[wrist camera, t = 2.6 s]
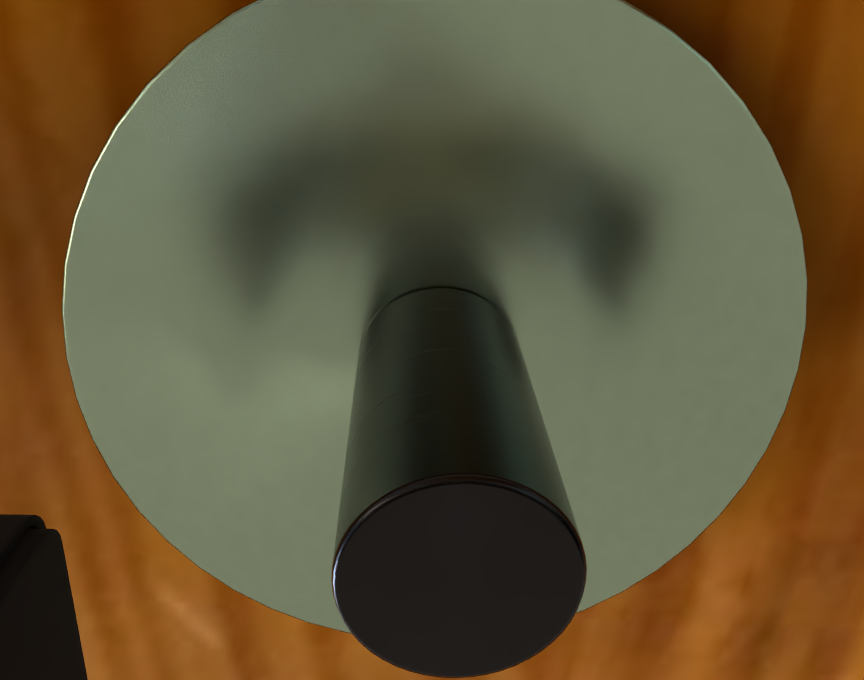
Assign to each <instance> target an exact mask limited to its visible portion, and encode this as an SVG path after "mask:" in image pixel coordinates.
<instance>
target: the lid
mask: <svg viewBox="0 0 864 680" xmlns="http://www.w3.org/2000/svg"><path fill="white" fill-rule="evenodd" d="M806 311H807V272H806V263H805V254H804V245H803V237H802V231H801V227H800V223H799V220H798V216H797V212H796V209H795V205H794V201H793V197H792V194H791V190H790V187H789V184H788V182H787V180H786V178H785V175H784V173H783V171H782V168H781V166H780V164H779V162H778V159H777V157H776V155H775V152H774V150H773V148H772V146H771V143H770V142H769V140H768V138H767V137H766V135H765V134H764V132H763V131H762V129H761V127H760V126H759V124H758V123H757V121H756V119H755V118H754V116H753V115H752V113H751V112H750V110H749V108H748V107H747V105H746V104H745V102H744V101H743V99H742V98H741V97H740V96H739V95H738V94H737V92H736V91H735V90H734V89H733V88H732V87H731V86H730V84H729V83H728V82H727V81H726V80H725V79H724V78H723V76H722V75H721V74H720V73H719V72H718V71H717V69H716V68H715V67H714V66H713V65H712V64H711V63H710V61H708V60H707V59H706V58H705V57H704V56H702V55H701V54H700V53H699V52H698V51H697V50H695V49H694V48H693V47H692V46H691V45H690V44H688V43H687V42H686V41H685V40H684V39H682V38H681V37H680V36H679V35H678V34H677V33H675V32H674V31H673V30H672V29H671V28H669V27H668V26H666V25H665V24H663V23H662V22H660V21H658V20H657V19H655V18H654V17H652V16H650V15H649V14H647V13H645V12H644V11H642V10H641V9H639V8H637V7H636V6H634V5H632V4H631V3H629V2H628V1H626V0H255V1H253V2H251V3H249V4H247V5H245V6H243V7H241V8H240V9H238V10H236V11H234V12H232V13H231V14H229V15H228V16H226V17H225V18H224V19H222V20H221V21H219V22H218V23H217V24H215V25H214V26H212V27H211V28H210V29H208V30H207V31H205V32H204V33H202V34H201V35H200V36H198V37H197V38H195V39H194V40H193V41H191V42H190V43H188V44H187V45H186V46H185V47H184V48H183V49H182V50H181V51H180V52H179V53H178V54H177V55H176V56H175V57H174V58H173V59H172V60H170V61H169V62H168V63H167V64H166V65H165V66H164V67H163V68H162V69H161V70H160V71H159V72H158V73H157V74H156V75H155V76H154V77H153V78H152V79H151V80H150V81H149V82H148V83H147V84H146V85H145V87H144V88H143V89H142V91H141V92H140V93H139V94H138V96H137V97H136V98H135V100H134V101H133V102H132V104H131V105H130V106H129V108H128V109H127V110H126V111H125V113H124V114H123V115H122V117H121V118H120V119H119V121H118V122H117V123H116V125H115V126H114V128H113V130H112V132H111V134H110V135H109V137H108V139H107V141H106V143H105V145H104V146H103V148H102V150H101V152H100V154H99V155H98V157H97V159H96V161H95V163H94V165H93V166H92V168H91V170H90V173H89V176H88V179H87V181H86V184H85V187H84V189H83V192H82V195H81V198H80V200H79V203H78V206H77V208H76V211H75V214H74V217H73V222H72V227H71V232H70V237H69V242H68V247H67V252H66V256H65V261H64V276H63V295H62V318H63V328H64V339H65V349H66V358H67V362H68V366H69V370H70V374H71V378H72V382H73V387H74V391H75V395H76V399H77V402H78V404H79V407H80V409H81V412H82V414H83V417H84V419H85V422H86V424H87V427H88V430H89V432H90V435H91V437H92V440H93V441H94V443H95V445H96V447H97V449H98V450H99V452H100V454H101V456H102V458H103V459H104V461H105V463H106V465H107V467H108V468H109V470H110V472H111V474H112V476H113V477H114V479H115V480H116V481H117V483H118V484H119V485H120V487H121V488H122V489H123V491H124V492H125V493H126V495H127V496H128V497H129V499H130V500H131V502H132V503H133V504H134V506H135V507H136V508H137V510H138V511H139V512H140V513H141V514H142V515H143V516H144V517H145V518H146V519H147V520H148V521H149V523H150V524H151V525H152V526H153V527H154V528H155V529H156V530H157V531H158V532H159V533H160V534H161V535H162V536H163V537H164V538H165V539H166V540H167V541H168V542H169V543H170V544H171V545H172V546H174V547H175V548H176V549H177V550H179V551H180V552H181V553H182V554H183V555H185V556H186V557H187V558H188V559H189V560H191V561H192V562H193V563H194V564H195V565H197V566H198V567H199V568H201V569H202V570H204V571H205V572H207V573H208V574H210V575H211V576H213V577H214V578H216V579H218V580H219V581H221V582H222V583H224V584H225V585H227V586H228V587H230V588H231V589H233V590H235V591H237V592H239V593H241V594H243V595H245V596H247V597H249V598H251V599H253V600H255V601H257V602H259V603H261V604H263V605H265V606H267V607H269V608H271V609H273V610H276V611H279V612H281V613H284V614H287V615H289V616H292V617H295V618H297V619H300V620H303V621H305V622H308V623H312V624H316V625H319V626H323V627H327V628H331V629H335V630H339V631H342V632H346V633H352V634H353V635H354V636H355V638H356V639H357V640H358V641H359V642H360V643H361V644H362V645H363V646H364V647H366V648H367V649H368V650H369V651H370V652H372V653H373V654H375V655H376V656H378V657H379V658H381V659H382V660H384V661H386V662H388V663H390V664H392V665H394V666H396V667H399V668H402V669H405V670H407V671H410V672H414V673H418V674H422V675H427V676H434V677H445V678H464V677H475V676H481V675H487V674H491V673H495V672H499V671H502V670H505V669H508V668H511V667H513V666H516V665H518V664H520V663H522V662H524V661H526V660H528V659H530V658H531V657H533V656H535V655H536V654H538V653H540V652H541V651H542V650H544V649H545V648H546V647H547V646H549V645H550V644H551V643H552V642H553V641H554V640H555V639H556V638H557V637H558V636H559V635H560V634H561V633H562V632H563V631H564V630H565V628H566V627H567V626H568V624H569V623H570V622H571V620H572V618H573V617H574V615H575V613H577V612H580V611H583V610H586V609H588V608H590V607H592V606H594V605H596V604H598V603H600V602H602V601H604V600H606V599H608V598H610V597H613V596H615V595H617V594H619V593H621V592H623V591H624V590H626V589H628V588H629V587H631V586H632V585H634V584H636V583H637V582H639V581H640V580H642V579H644V578H645V577H647V576H649V575H650V574H652V573H653V572H655V571H657V570H658V569H659V568H661V567H662V566H663V565H664V564H666V563H667V562H668V561H670V560H671V559H672V558H673V557H675V556H676V555H677V554H678V553H680V552H681V551H682V550H684V549H685V548H686V547H687V546H689V545H690V544H691V543H692V542H693V541H694V540H695V539H696V538H697V537H698V536H699V535H700V534H701V533H702V532H703V531H704V530H705V529H706V528H707V527H708V526H709V525H710V524H711V523H712V522H713V521H714V520H715V519H716V518H717V517H719V515H720V514H721V513H722V512H723V510H724V509H725V508H726V507H727V506H728V504H729V503H730V502H731V501H732V499H733V498H734V497H735V496H736V494H737V493H738V492H739V491H740V489H741V488H742V487H743V486H744V485H745V483H746V482H747V480H748V478H749V477H750V475H751V474H752V472H753V471H754V469H755V467H756V466H757V464H758V463H759V461H760V459H761V458H762V456H763V455H764V453H765V451H766V450H767V448H768V446H769V444H770V442H771V440H772V438H773V435H774V433H775V431H776V429H777V427H778V425H779V423H780V420H781V418H782V416H783V414H784V412H785V410H786V407H787V403H788V400H789V397H790V394H791V391H792V388H793V384H794V381H795V378H796V375H797V372H798V369H799V363H800V357H801V352H802V346H803V340H804V334H805V328H806Z"/></svg>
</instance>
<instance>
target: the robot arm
mask: <svg viewBox="0 0 864 680" xmlns="http://www.w3.org/2000/svg"><path fill="white" fill-rule="evenodd" d="M0 680H88V679H87V674H86V668H85V663H84V657H83V652H82V647H81V641H80V636H79V631H78V625H77V620H76V614H75V609H74V604H73V598H72V593H71V587H70V582H69V577H68V571H67V566H66V560H65V555H64V550H63V544H62V540H61V536H60V534H59V532H58V531H57V530H55V529H46V527H45V523H44V522H43V520H42V519H41V517H39V516H36V515H1V514H0Z"/></svg>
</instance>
